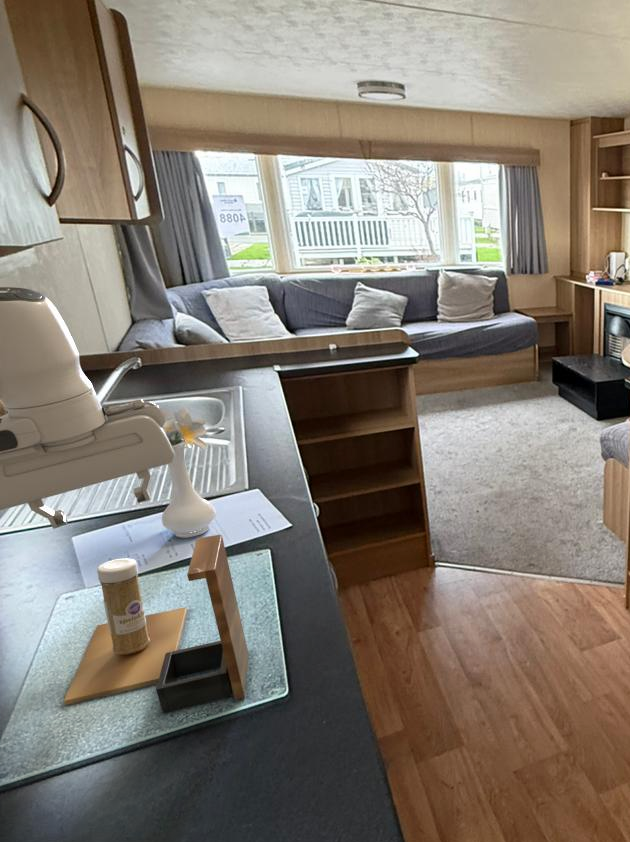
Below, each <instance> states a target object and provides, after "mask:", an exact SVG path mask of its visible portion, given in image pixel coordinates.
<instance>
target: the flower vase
mask: <svg viewBox="0 0 630 842" xmlns="http://www.w3.org/2000/svg"><path fill="white" fill-rule="evenodd" d="M162 414H163V417H164V425H163V427H162V429H163V430H164V432H165V434H166V436H167V437H168V439H169V442H170V444H171V446H172V448H173V451H174V453H175V456H174V458H173V460H172V462H171V463H169V464H166V465H167V468H168V472H169V477H170V483H171V489H172V491H171V492H172V493H171V499H170V503H169V504H168V505H167V506H166V508H165V509H164V511H163V512H162V515H161V524H162V526H163V527H164V529H166V530H168V531H170V532H173V533H174V536H175V537H178V538H182V539H184V538H186V539H187V538H193V537H197V536H201V535H203V534H204V533H207V532H208V531H209V530H210V528H211V524H212V523H213V521H214V520H215V518H216V515H217V511H216V508H215V506H214V505H213V504H212V503H211V502H210V501H208V500H207V499H205V498H203V497H201V496H200V495H199V494H198V493H197V491H196V490H195V488H194V486H193V484H192V482H191V478H190V475H189V471H188V467H187V464H186V458H185V456H186V455H185V447H187V448H188V449H192V448H193V447H194V446H196V447H198V448H200V449H202V450H204V451H206V450H207V449H208V446H207V444H206V443H205V441H204V440H202V439H208V436H207V435H206V433H207V428H206V427H205V426H204V425H206V421H205V420H204V419H201V418H194V419H192V417H191V416H190V414H189V410H187V408H185V407H182V408H180V409H179V410H178V412H177V411H176V412H174V415H173V416H174V419H173V418H170V416H171V409H165V410H164V411H162ZM200 529H201V530H200ZM198 530H199V531H198ZM194 531H196V532H194ZM190 532H192V533H190Z"/></svg>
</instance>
